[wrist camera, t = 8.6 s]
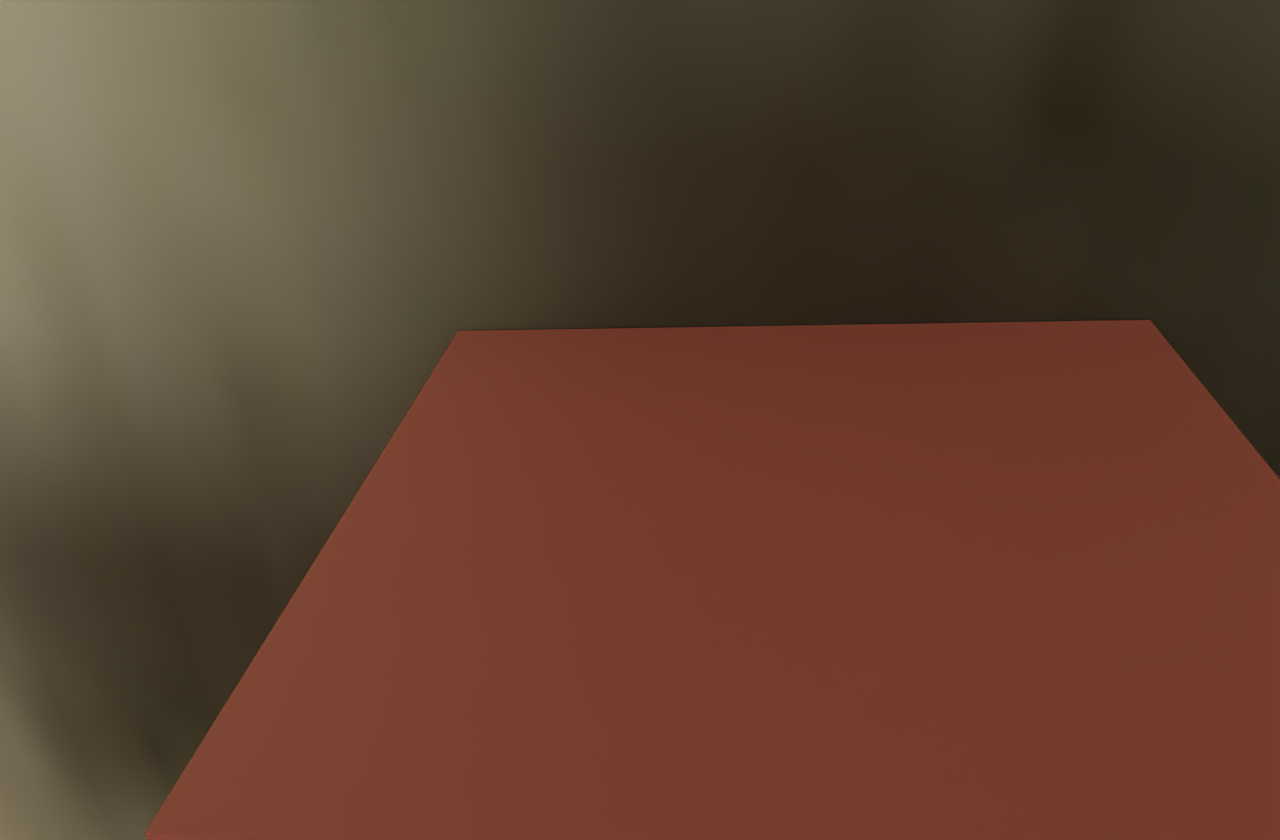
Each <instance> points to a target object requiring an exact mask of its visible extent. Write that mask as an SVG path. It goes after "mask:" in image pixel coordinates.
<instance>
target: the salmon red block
mask: <svg viewBox="0 0 1280 840" xmlns="http://www.w3.org/2000/svg"><path fill="white" fill-rule="evenodd" d="M145 835H146V838H147V840H1280V479H1279V478H1278V477H1277V475H1276V474H1275V473H1274V472H1273V470H1272V469H1271V468H1270V467H1269V466H1268V464H1267V463H1266V462H1265V461H1264V459H1263V458H1262V457H1261V456H1260V454H1259V453H1258V452H1257V451H1256V450H1255V448H1254V447H1253V446H1252V445H1251V443H1250V442H1249V441H1248V440H1247V438H1246V437H1245V436H1244V435H1243V434H1242V432H1241V431H1240V430H1239V429H1238V427H1237V426H1236V425H1235V424H1234V422H1233V421H1232V420H1231V419H1230V418H1229V416H1228V415H1227V414H1226V413H1225V411H1224V410H1223V409H1222V408H1221V406H1220V405H1219V404H1218V403H1217V402H1216V400H1215V399H1214V398H1213V397H1212V395H1211V394H1210V393H1209V392H1208V391H1207V389H1206V388H1205V387H1204V386H1203V384H1202V383H1201V382H1200V381H1199V379H1198V378H1197V377H1196V376H1195V375H1194V373H1193V372H1192V371H1191V370H1190V368H1189V367H1188V366H1187V365H1186V363H1185V362H1184V361H1183V360H1182V359H1181V357H1180V356H1179V355H1178V354H1177V352H1176V351H1175V350H1174V349H1173V347H1172V346H1171V345H1170V344H1169V343H1168V341H1167V340H1166V339H1165V338H1164V336H1163V335H1162V334H1161V333H1160V331H1159V330H1158V329H1157V328H1156V327H1155V325H1154V324H1153V323H1152V322H1151V320H1109V321H1046V322H983V323H920V324H857V325H794V326H731V327H668V328H605V329H542V330H479V331H458V332H457V334H456V335H455V337H454V338H453V340H452V342H451V343H450V345H449V346H448V348H447V350H446V351H445V353H444V354H443V356H442V358H441V359H440V361H439V362H438V364H437V366H436V367H435V369H434V370H433V372H432V374H431V375H430V377H429V378H428V380H427V382H426V383H425V385H424V386H423V388H422V390H421V391H420V393H419V394H418V396H417V398H416V399H415V401H414V402H413V404H412V406H411V407H410V409H409V410H408V412H407V414H406V415H405V417H404V418H403V420H402V422H401V423H400V425H399V426H398V428H397V430H396V431H395V433H394V434H393V436H392V438H391V439H390V441H389V442H388V444H387V446H386V447H385V449H384V450H383V452H382V454H381V455H380V457H379V458H378V460H377V462H376V463H375V465H374V467H373V468H372V470H371V471H370V473H369V475H368V476H367V478H366V479H365V481H364V483H363V484H362V486H361V487H360V489H359V491H358V492H357V494H356V495H355V497H354V499H353V500H352V502H351V503H350V505H349V507H348V508H347V510H346V511H345V513H344V515H343V516H342V518H341V519H340V521H339V523H338V524H337V526H336V527H335V529H334V531H333V532H332V534H331V535H330V537H329V539H328V540H327V542H326V543H325V545H324V547H323V548H322V550H321V551H320V553H319V555H318V556H317V558H316V559H315V561H314V563H313V564H312V566H311V567H310V569H309V571H308V572H307V574H306V575H305V577H304V579H303V580H302V582H301V583H300V585H299V587H298V588H297V590H296V592H295V593H294V595H293V596H292V598H291V600H290V601H289V603H288V604H287V606H286V608H285V609H284V611H283V612H282V614H281V616H280V617H279V619H278V620H277V622H276V624H275V625H274V627H273V628H272V630H271V632H270V633H269V635H268V636H267V638H266V640H265V641H264V643H263V644H262V646H261V648H260V649H259V651H258V652H257V654H256V656H255V657H254V659H253V660H252V662H251V664H250V665H249V667H248V668H247V670H246V672H245V673H244V675H243V676H242V678H241V680H240V681H239V683H238V684H237V686H236V688H235V689H234V691H233V692H232V694H231V696H230V697H229V699H228V700H227V702H226V704H225V705H224V707H223V708H222V710H221V712H220V713H219V715H218V716H217V718H216V720H215V721H214V723H213V725H212V726H211V728H210V729H209V731H208V733H207V734H206V736H205V737H204V739H203V741H202V742H201V744H200V745H199V747H198V749H197V750H196V752H195V753H194V755H193V757H192V758H191V760H190V761H189V763H188V765H187V766H186V768H185V769H184V771H183V773H182V774H181V776H180V777H179V779H178V781H177V782H176V784H175V785H174V787H173V789H172V790H171V792H170V793H169V795H168V797H167V798H166V800H165V801H164V803H163V805H162V806H161V808H160V809H159V811H158V813H157V814H156V816H155V817H154V819H153V821H152V822H151V824H150V825H149V827H148V829H147V830H146V832H145Z"/></svg>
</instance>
